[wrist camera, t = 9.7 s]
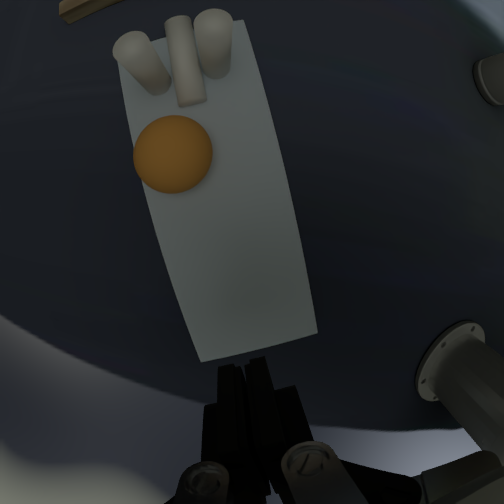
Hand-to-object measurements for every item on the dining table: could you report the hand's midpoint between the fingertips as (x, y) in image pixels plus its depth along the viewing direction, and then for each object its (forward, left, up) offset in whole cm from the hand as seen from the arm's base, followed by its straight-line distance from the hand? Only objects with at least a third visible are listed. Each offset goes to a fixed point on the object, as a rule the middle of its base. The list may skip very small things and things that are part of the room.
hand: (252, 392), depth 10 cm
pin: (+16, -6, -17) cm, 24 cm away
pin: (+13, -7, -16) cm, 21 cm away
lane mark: (+6, -3, -17) cm, 18 cm away
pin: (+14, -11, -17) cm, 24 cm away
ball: (+10, -3, -14) cm, 18 cm away
